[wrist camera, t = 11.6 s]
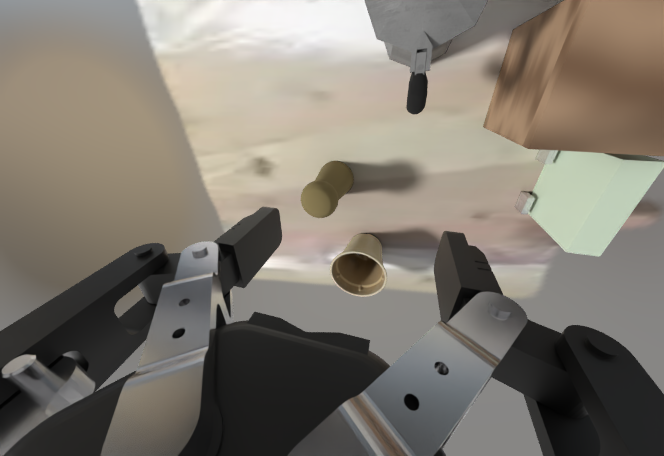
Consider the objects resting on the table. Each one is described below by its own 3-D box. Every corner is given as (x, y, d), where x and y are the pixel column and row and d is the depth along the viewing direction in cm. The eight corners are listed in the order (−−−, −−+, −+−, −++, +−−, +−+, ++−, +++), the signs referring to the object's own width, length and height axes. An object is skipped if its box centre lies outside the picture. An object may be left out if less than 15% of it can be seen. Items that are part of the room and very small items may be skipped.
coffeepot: (381, -49, 26) (346, -241, 11) (477, -72, 23) (603, -360, 8) (377, 107, 33) (353, 122, 18) (449, 103, 31) (489, 116, 16)
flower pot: (335, 254, 48) (323, 282, 41) (351, 217, 43) (339, 242, 36) (378, 272, 48) (373, 304, 41) (398, 237, 43) (397, 267, 35)
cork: (360, 175, 39) (346, 202, 30) (340, 201, 42) (322, 232, 33) (331, 153, 38) (307, 173, 29) (313, 181, 42) (287, 206, 33)
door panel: (557, 138, 30) (623, 159, 21) (593, 139, 29) (680, 162, 20) (524, 209, 35) (566, 252, 26) (554, 212, 34) (609, 257, 25)
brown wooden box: (513, 29, 26) (598, -20, 14) (637, 23, 24) (862, -41, 12) (483, 126, 31) (528, 148, 19) (583, 130, 29) (703, 158, 17)
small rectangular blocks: (543, 140, 30) (553, 143, 28) (600, 142, 29) (615, 146, 27) (514, 206, 35) (520, 213, 33) (562, 211, 34) (571, 219, 32)
